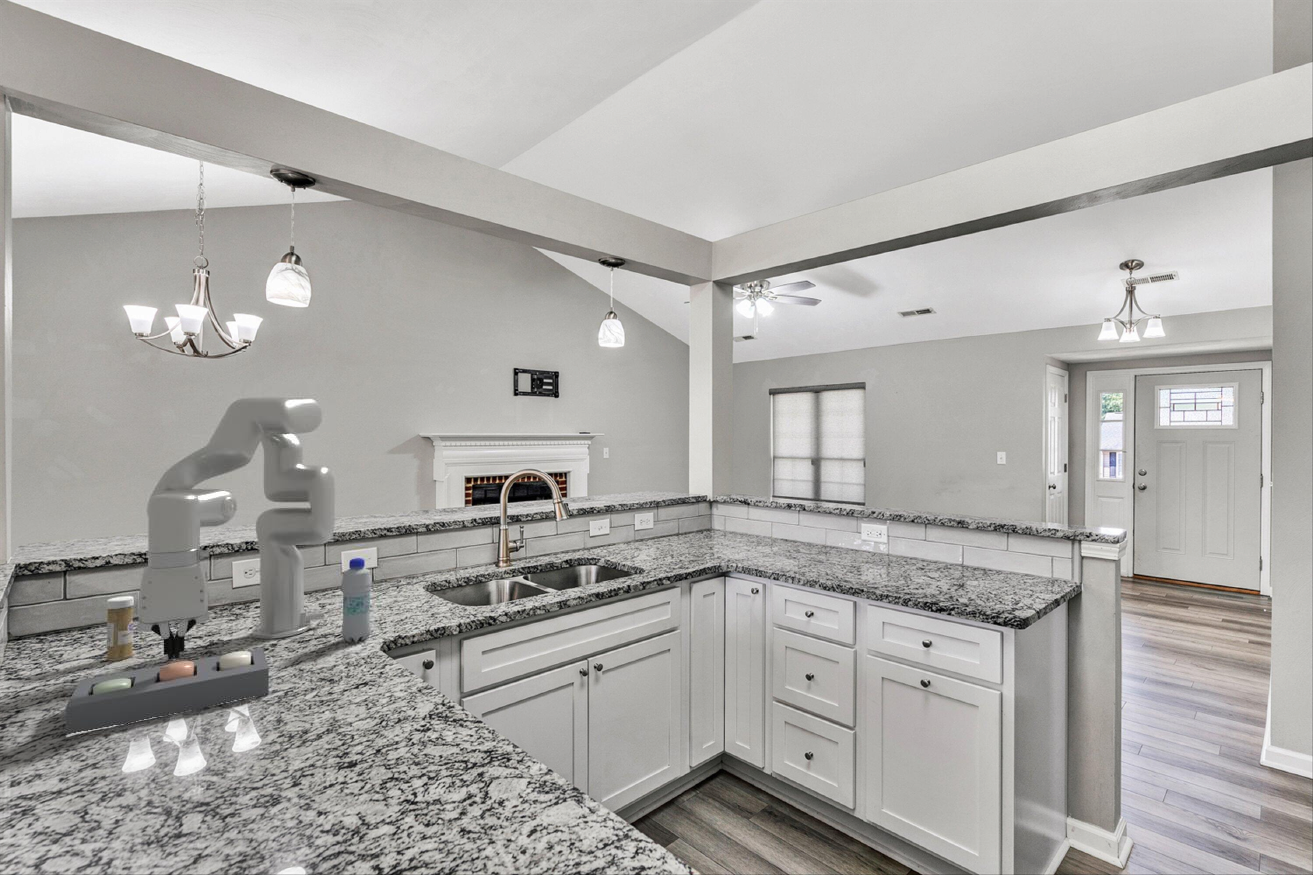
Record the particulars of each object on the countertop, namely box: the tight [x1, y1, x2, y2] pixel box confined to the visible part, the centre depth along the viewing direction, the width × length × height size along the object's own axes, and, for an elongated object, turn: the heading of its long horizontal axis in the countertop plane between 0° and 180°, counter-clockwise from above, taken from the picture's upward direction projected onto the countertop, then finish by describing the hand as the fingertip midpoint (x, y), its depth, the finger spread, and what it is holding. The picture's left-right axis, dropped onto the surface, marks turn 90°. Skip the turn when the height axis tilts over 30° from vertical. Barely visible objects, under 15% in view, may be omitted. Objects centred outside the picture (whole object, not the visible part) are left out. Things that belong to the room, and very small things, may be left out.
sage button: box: [93, 678, 131, 695], centre depth 106 cm, size 5×5×4 cm
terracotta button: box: [160, 660, 194, 682], centre depth 112 cm, size 5×5×4 cm
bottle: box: [341, 557, 373, 643], centre depth 147 cm, size 7×7×20 cm
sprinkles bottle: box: [105, 595, 135, 662], centre depth 134 cm, size 5×5×14 cm
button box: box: [65, 648, 270, 735], centre depth 112 cm, size 28×14×5 cm, turn 127°
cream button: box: [220, 650, 251, 671], centre depth 117 cm, size 5×5×4 cm
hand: (174, 656), depth 112 cm, fingers closed
